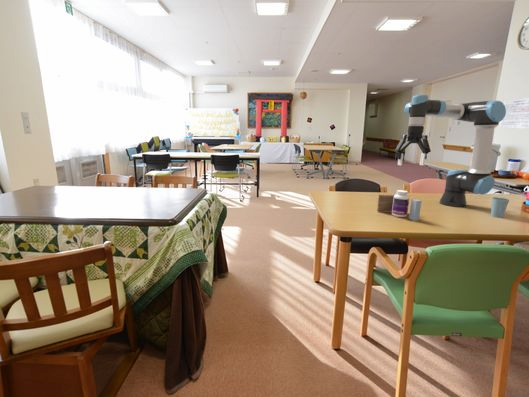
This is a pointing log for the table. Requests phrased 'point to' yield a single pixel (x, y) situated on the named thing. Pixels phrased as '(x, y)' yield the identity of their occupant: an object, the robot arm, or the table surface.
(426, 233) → the table surface
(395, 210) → the pill bottle
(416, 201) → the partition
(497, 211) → the cup
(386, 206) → the door
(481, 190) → the robot arm
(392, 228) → the table surface
